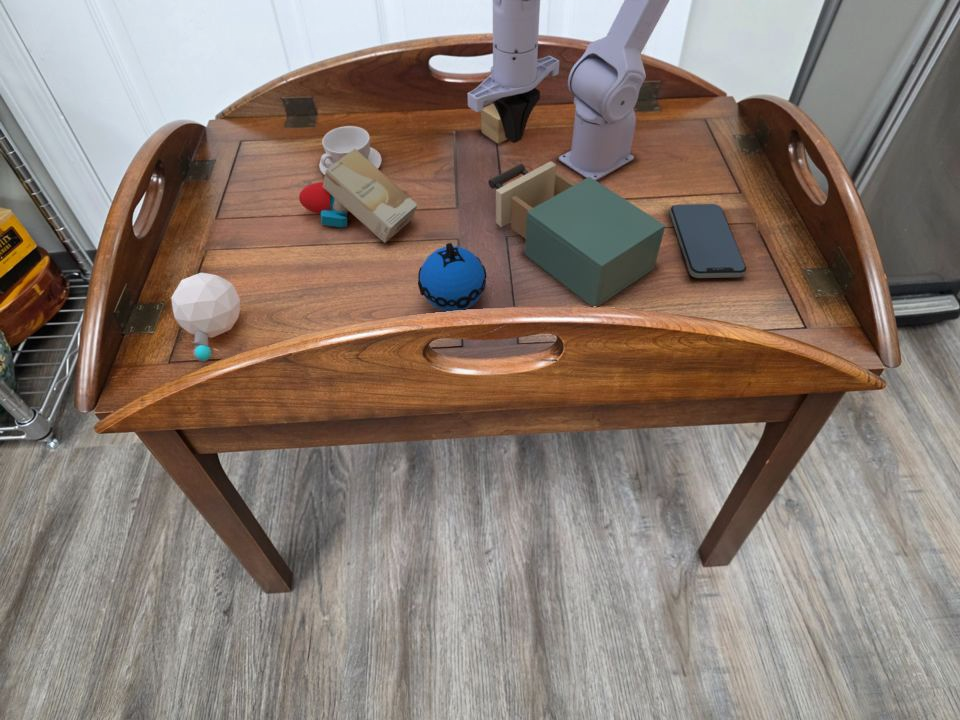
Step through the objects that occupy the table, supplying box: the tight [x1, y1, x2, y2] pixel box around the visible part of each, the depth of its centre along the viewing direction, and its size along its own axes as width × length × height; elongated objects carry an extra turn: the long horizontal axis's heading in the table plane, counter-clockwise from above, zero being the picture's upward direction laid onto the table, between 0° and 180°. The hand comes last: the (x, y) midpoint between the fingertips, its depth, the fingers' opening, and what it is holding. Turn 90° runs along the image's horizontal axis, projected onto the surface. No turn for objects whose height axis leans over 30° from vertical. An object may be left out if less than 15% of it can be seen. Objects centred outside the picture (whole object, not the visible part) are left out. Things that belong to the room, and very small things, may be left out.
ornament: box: [417, 242, 487, 312], centre depth 81 cm, size 9×9×10 cm
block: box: [480, 103, 508, 145], centre depth 108 cm, size 4×4×4 cm
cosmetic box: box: [322, 149, 419, 244], centre depth 92 cm, size 6×4×12 cm
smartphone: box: [669, 203, 747, 279], centre depth 91 cm, size 8×2×15 cm
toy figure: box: [298, 181, 351, 228], centre depth 96 cm, size 8×5×15 cm
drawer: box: [487, 160, 577, 240], centre depth 91 cm, size 17×10×6 cm, turn 39°
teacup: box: [318, 125, 382, 176], centre depth 103 cm, size 10×10×5 cm
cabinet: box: [524, 177, 666, 307], centre depth 87 cm, size 14×12×8 cm
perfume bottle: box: [170, 272, 241, 362], centre depth 80 cm, size 8×8×12 cm
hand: (513, 138), depth 92 cm, fingers closed
